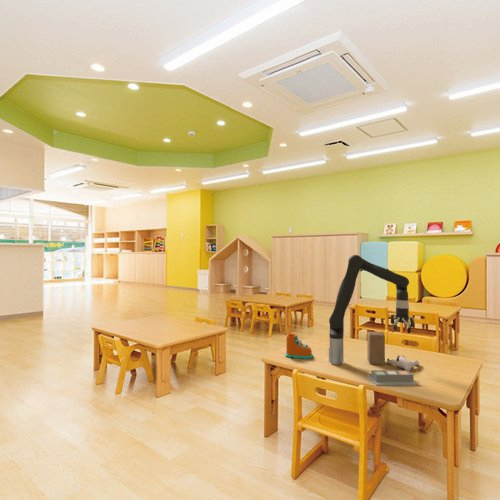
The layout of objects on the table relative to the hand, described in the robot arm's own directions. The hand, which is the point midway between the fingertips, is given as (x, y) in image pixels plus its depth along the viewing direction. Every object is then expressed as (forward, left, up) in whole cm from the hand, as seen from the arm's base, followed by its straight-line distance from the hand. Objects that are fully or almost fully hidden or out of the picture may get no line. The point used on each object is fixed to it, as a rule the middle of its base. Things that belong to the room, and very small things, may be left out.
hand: (402, 332), depth 219 cm
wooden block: (-12, +12, -24) cm, 30 cm away
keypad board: (-15, -20, -24) cm, 35 cm away
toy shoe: (-62, +27, -24) cm, 72 cm away
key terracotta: (-9, -20, -21) cm, 30 cm away
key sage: (-22, -20, -21) cm, 37 cm away
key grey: (-16, -20, -21) cm, 33 cm away
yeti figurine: (+3, +4, -24) cm, 25 cm away
